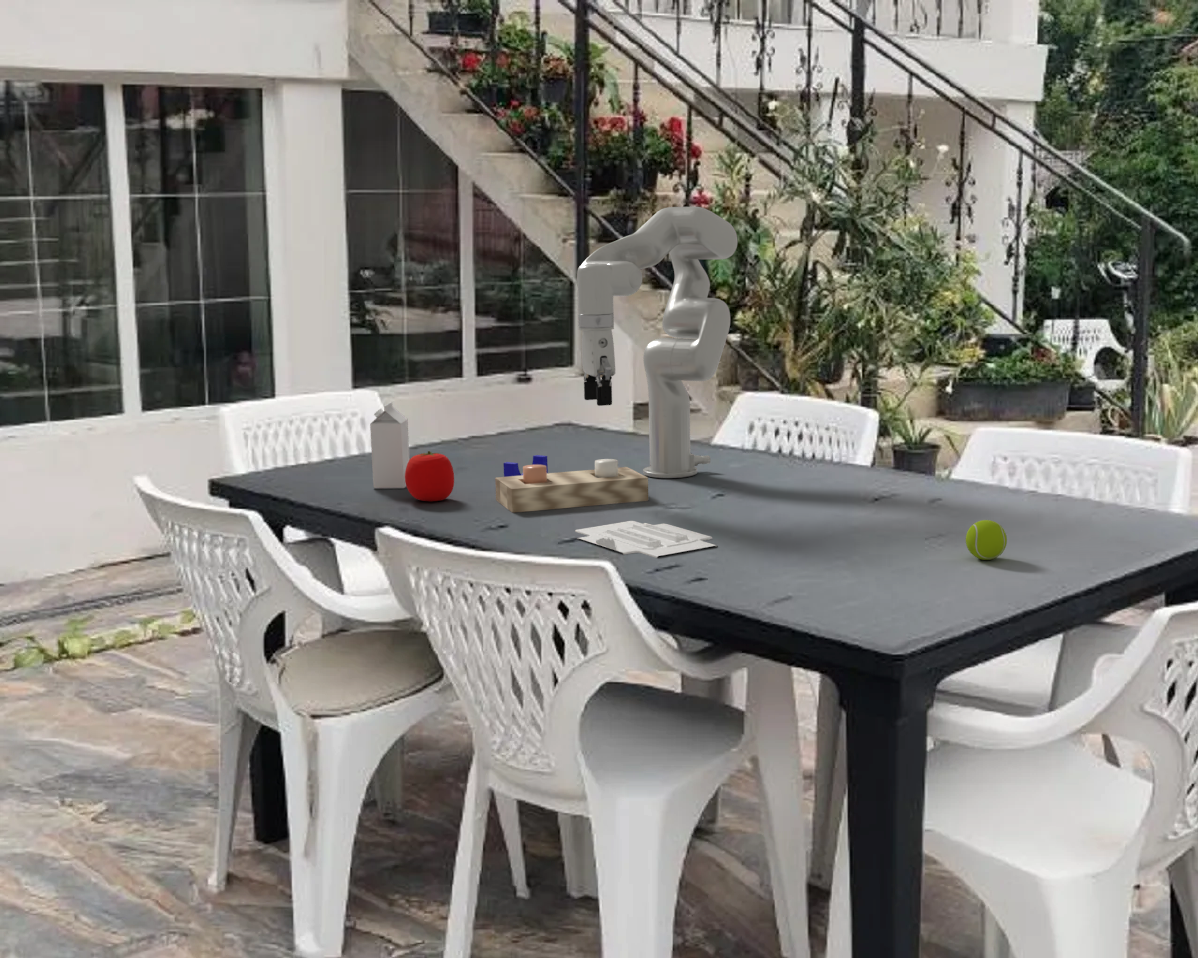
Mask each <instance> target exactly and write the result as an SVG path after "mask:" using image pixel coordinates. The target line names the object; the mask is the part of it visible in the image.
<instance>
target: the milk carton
mask: <svg viewBox="0 0 1198 958" xmlns="http://www.w3.org/2000/svg"><path fill="white" fill-rule="evenodd" d="M383 409H384V410H383ZM383 409H382V408H379V409H378V410H377V411H375V412H374V414H373V416H374V417H376V418H374V420H373V421H372V422H371V423H370V425H369V428H370V430H369V431H370V447H371V462H372V463H371V467H372V485H373V489H405V488H407V486H406V483H405V470H406V467H407V464H408V462H409V460H410V459H411V457H410V442H409V441H410V440H409V438H410V437H409V422H408V418H407V417H406V416H405V415H403V414H402V413H401V412H400V411H399V410H397V409H396V407H394V406H393V402H392V401H390V402H388V403H387V404H385V405H384V406H383Z"/></svg>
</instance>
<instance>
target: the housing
mask: <svg viewBox="0 0 1198 958" xmlns="http://www.w3.org/2000/svg"><path fill="white" fill-rule="evenodd" d="M494 480H495V481H494V482H495V500H496V502H497V503H499V505H502V506H503V507H504V508H506V509H507V510H508V511H510V512H511V513H523V512H525V513H526V512H535V511H537V512H538V511H545V510H557V509H567V508H569V509H570V508H578V507H579V508H580V507H592V506H601V505H613V504H625V503H635V502H636V503H637V502H647V501H649V476H646V475H644V474H642V473H639V472H638V471H636V470H635V469H632V468H630V467H628V466H623V467H621V466H619V467H618V476H617V477H605V478H596V477H595V469H586V470H573V471H572V470H571V471H559V472H548V473H547V482H545V483H533V484H524V483H523V475H521V476H509V477H504V476H500V477H495V479H494Z"/></svg>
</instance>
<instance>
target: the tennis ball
mask: <svg viewBox="0 0 1198 958" xmlns="http://www.w3.org/2000/svg"><path fill="white" fill-rule="evenodd" d="M1007 543H1008V537H1007V533H1006V531H1005V528H1004V527H1003V526H1002V525H1001V524H1000V523H999V522H996V521H993V520H989V519H982V520H978V521H975V523H973V524H971V526H970V527H969V529H968V530H967V532H966V534H965V544H966V548H967V549H968V551H969V553H970V554H971V555H972V556H973V557H975V558H976V559H978V560H983V561H990V560H994V559H997V558H998V557H1000V556H1001V555H1002V554H1003V552H1004V551H1005V550H1006V547H1007Z"/></svg>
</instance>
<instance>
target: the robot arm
mask: <svg viewBox="0 0 1198 958" xmlns="http://www.w3.org/2000/svg"><path fill="white" fill-rule="evenodd" d="M737 247H738V235H737V232H736V230H735V227H734V226H733V225H732V224H731V223H730V222H729V221H727V220H726V219H724V218H723V217H721V216H719V215H718V214H716V213H714V212H713V211H711V210H709V209H707V208H704V207H701V206H668V207H664V208H661V209H660V210H658V211H656V213H655V214H653V215H652V216H651V217H650V218H649V219H648V220H647V221H646V222H645V223H644V224H642V225H641V227H639V228H638V229H637V230H636V231H635V232H634V233H631V234H629V235H627V236H624V237H621V238H619V239H617V240H615V241H612V242H610V243H607V244H605V245H603V246H601V247H599V248H597V249H596V250H595V251H593V252H592V253H590V255H589V256H588V257H586V259H585V260H584V261H583V262H582V263H581V265H579V267H578V268H577V271H576V273H577V274H576V284H577V310H578V311H577V313H578V314H577V317H578V321H577V322H578V330H579V331H582V332H581V333H582V336H581V366H582V371H583V373H584V375H583V389H584V390H583V394H584V395H583V396H584V397H583V398H584V400H585V401H595V400H596V405H597V406H599V407H600V406H611V405H613V389H612V388H613V387H612V385H613V381H612V379H613V378H612V377H613V376H615V375H616V358H615V346H614V344H615V343H614V337H613V335H614V334H613V331H612V330H614V329H615V323H614V322H615V316H614V297H629V296H632V295H634V294H636V293H637V292H638V291H639V289H640V288H641V286H642V283H643V273H642V270H644V269H647V268H651V267H653V266H654V267H655V266H656V265H657V264H659V263H661V261H662V260H663V259H664V258H665V257H666V256H667V255H668V254H669V257H670V259H671V264H672V268H673V271H674V272H673V273H674V280H673V284H672V288H671V290H670V294H669V296H668V300H667V302H666V306H665V308H664V309H665V310H664V311H663V312H664V313H663V315H662V323H661V324H662V329H663V331H664V332H665V334H666V335H668V336H669V337H659V338H656V339H654V340H651V341H650V342H648V343H647V345H646V346H645V348H644V351H643V354H642V355H643V357H642V358H643V359H642V360H643V367H644V371H645V376H646V382H647V390H648V391H647V393H648V394H647V395H648V428H649V429H648V430H649V431H648V433H649V434H648V435H649V436H648V437H649V438H648V439H649V466H646V467H644V468H643V469H642V472H643V474H642V475H644V476H646V477H648V478H650V477H651V478H657V479H680V478H687V477H693V476H695V475H697V474H698V468H697V466H698V465H705V464H706V465H709V464H711V461H712V460H711V456H710V455H697V454H694V453H691V417H690V416H691V400H690V396H689V392H688V390H687V387H686V386H685V384H684V383H683V381H687V382H706V381H709V380H711V378H713V377H714V375H715V374H716V372H717V370H718V367H719V364H720V362H721V358H722V355H723V351H724V349H725V348H724V347H725V345H726V341H727V338H728V335H729V332H730V326H731V313H730V309H729V305H728V304H727V303H726V302H725V301H724V300H721V299H720V298H715V297H708V296H709V293H710V288H711V282H710V278H709V276H708V274H707V272H706V270H705V269H704V268H703V266H702V264H701V262H700V260H726V259H729V258H731V257H732V256H733V255H734V254H735V252H736V250H737Z"/></svg>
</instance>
